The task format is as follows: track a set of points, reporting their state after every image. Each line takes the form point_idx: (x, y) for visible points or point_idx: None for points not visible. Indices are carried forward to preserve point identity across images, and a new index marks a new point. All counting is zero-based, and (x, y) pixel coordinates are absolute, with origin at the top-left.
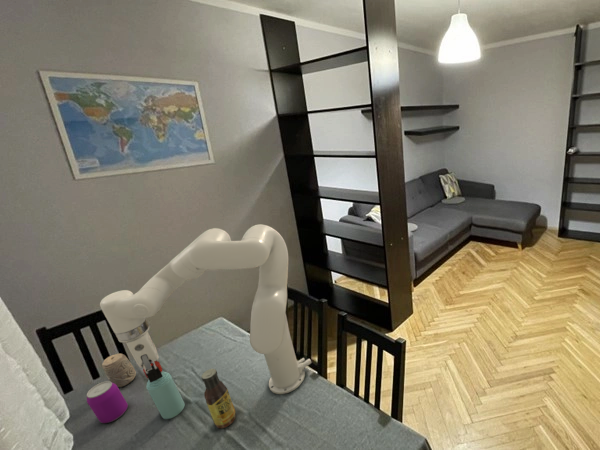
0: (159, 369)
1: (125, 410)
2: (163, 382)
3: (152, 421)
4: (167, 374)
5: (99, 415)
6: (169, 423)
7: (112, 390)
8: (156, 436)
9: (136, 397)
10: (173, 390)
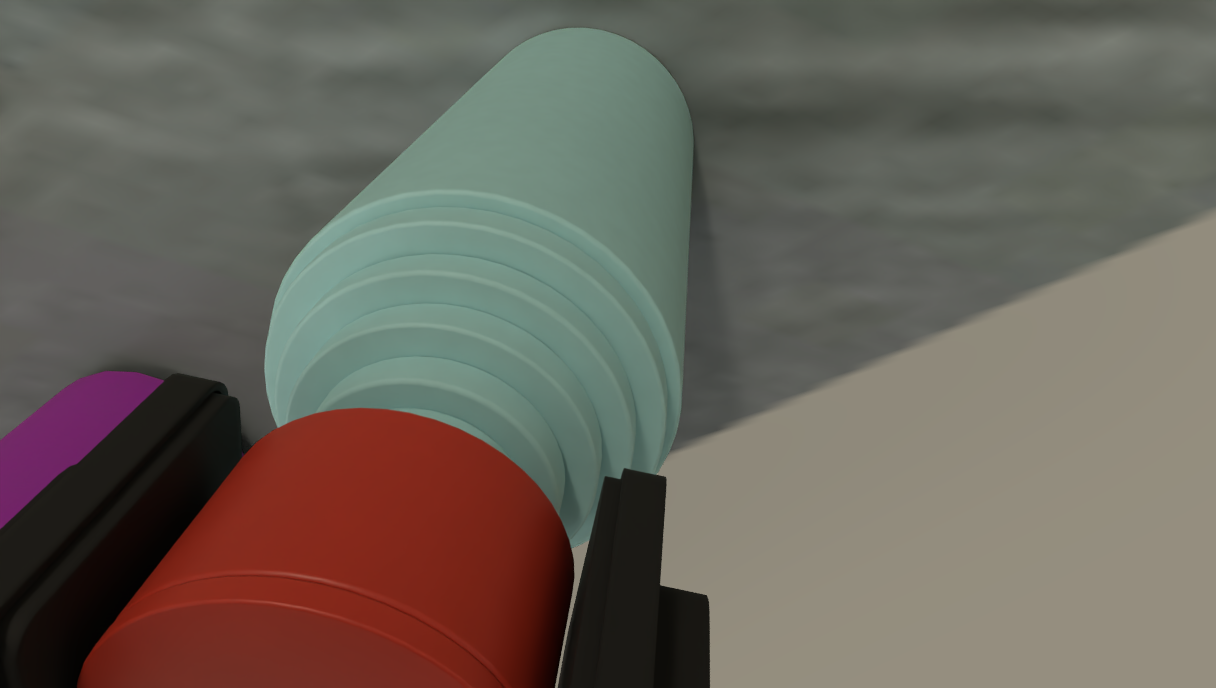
0: (511, 565)
1: None
2: (652, 389)
3: None
4: (481, 262)
5: None
6: (725, 236)
7: None
8: (758, 354)
9: (71, 287)
10: (659, 185)
